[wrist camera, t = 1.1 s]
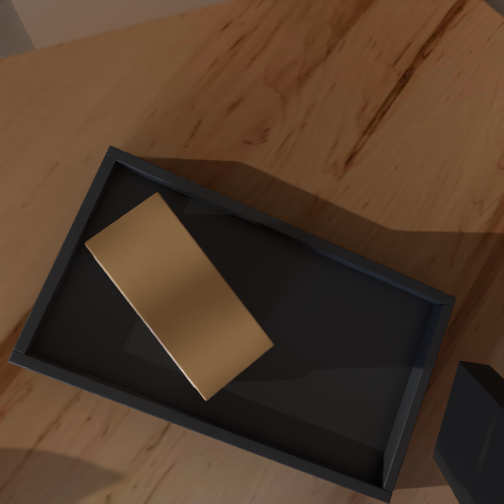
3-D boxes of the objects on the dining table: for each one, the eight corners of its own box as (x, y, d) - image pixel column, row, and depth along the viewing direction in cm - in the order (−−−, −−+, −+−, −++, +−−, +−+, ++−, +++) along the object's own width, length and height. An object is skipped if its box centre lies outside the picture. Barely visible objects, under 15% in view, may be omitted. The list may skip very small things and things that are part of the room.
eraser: (97, 258, 34) (68, 241, 24) (161, 212, 35) (159, 178, 25) (193, 383, 34) (204, 416, 24) (254, 333, 35) (288, 346, 25)
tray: (113, 155, 35) (109, 144, 33) (439, 298, 39) (456, 297, 37) (17, 357, 33) (6, 361, 31) (375, 491, 36) (389, 504, 34)
